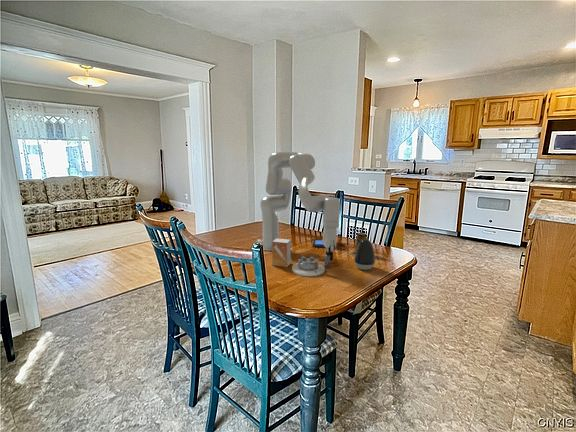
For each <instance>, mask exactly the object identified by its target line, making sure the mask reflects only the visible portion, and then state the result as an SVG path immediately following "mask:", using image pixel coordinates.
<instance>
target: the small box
mask: <svg viewBox="0 0 576 432" xmlns="http://www.w3.org/2000/svg"><path fill="white" fill-rule="evenodd" d="M291 246H292V240H291V239H286V238H278V239H275V240H274V241H273V243H272V255H271V256H272V258H271V259H272V261H271V262H272V263H271V265H272V266H274V267H283V268H288V266H290V264H291V256H292V255H291V251H292V250H291Z"/></svg>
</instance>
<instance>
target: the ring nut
mask: <svg viewBox="0 0 576 432" xmlns="http://www.w3.org/2000/svg"><path fill="white" fill-rule="evenodd" d="M297 261H298V262H297V263H298V268H299V269H301V270H306V271H313V270H316V269H318V267H319V264H320V265H323V266H324V268H325V269H330V268H331V261H330V255H328V254H326V253H325V255H324V261H320V260H319V258H315V256H310V257H306V256H301V258H298V259H297Z"/></svg>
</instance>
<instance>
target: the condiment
mask: <svg viewBox="0 0 576 432" xmlns="http://www.w3.org/2000/svg"><path fill="white" fill-rule="evenodd" d="M367 236H368V235H367V233H364V232H359V233H356V239H355V251H354V252H350V255H353V256H355V253H356V250H357V247H358V245H359V242H358V241H357V239H359V240H361V241H362V240H363V239H368V238H367Z"/></svg>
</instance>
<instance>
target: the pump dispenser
mask: <svg viewBox="0 0 576 432" xmlns="http://www.w3.org/2000/svg"><path fill="white" fill-rule="evenodd" d="M357 241H358V242H359V245H358V247H357V250H356V249H355V252H356V253H355V255H354V260H353V261H354V264H355V266H356V268H358V269H360V270H362V271H369V270H372V269H373V267H374V266H375V264H376V255H375V249H374V246H373V243H372V241H371V240H369V239H368V238H367V239H363V240H362V241H361V240H359V239H357Z"/></svg>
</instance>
